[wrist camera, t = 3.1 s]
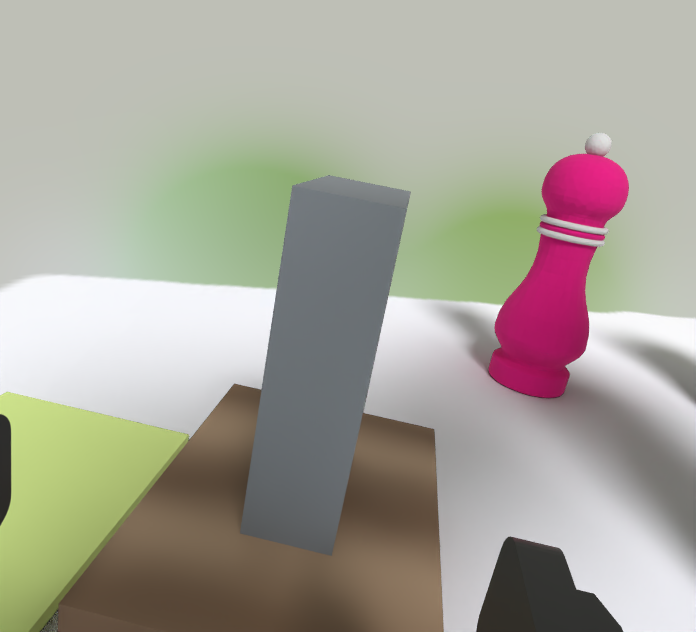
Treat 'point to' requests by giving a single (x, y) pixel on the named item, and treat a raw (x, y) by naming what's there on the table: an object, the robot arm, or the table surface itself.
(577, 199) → the pepper mill
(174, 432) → the green mat
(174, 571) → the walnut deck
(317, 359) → the tall gray post
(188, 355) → the table surface
